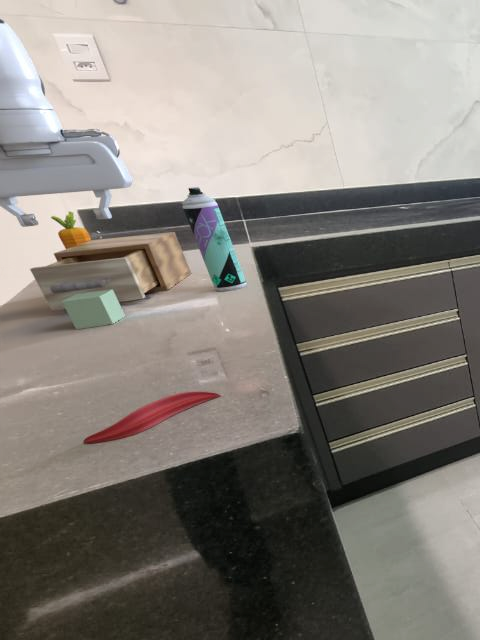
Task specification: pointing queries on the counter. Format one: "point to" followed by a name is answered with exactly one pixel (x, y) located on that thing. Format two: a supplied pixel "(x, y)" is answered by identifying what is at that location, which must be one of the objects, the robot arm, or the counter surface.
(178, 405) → the cayenne pepper
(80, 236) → the carrot
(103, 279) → the drawer
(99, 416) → the counter surface
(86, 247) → the cabinet
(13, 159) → the robot arm
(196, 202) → the spray can
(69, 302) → the block
